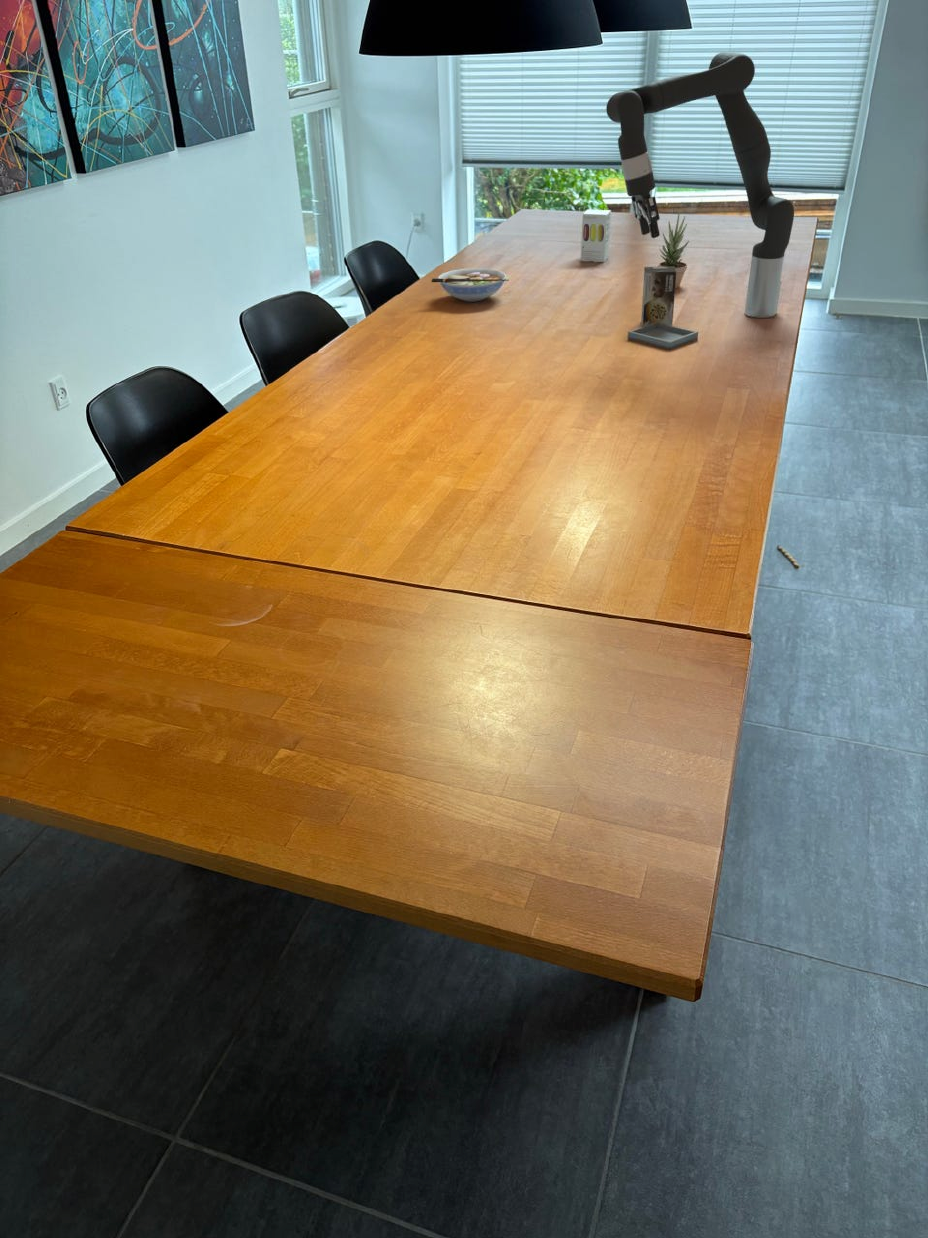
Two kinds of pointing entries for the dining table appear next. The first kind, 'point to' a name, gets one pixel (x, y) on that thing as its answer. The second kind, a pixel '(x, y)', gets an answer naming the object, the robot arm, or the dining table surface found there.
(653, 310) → the coffee box
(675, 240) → the potted plant
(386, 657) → the dining table surface
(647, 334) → the tray
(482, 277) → the ramen bowl
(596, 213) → the supplement box
